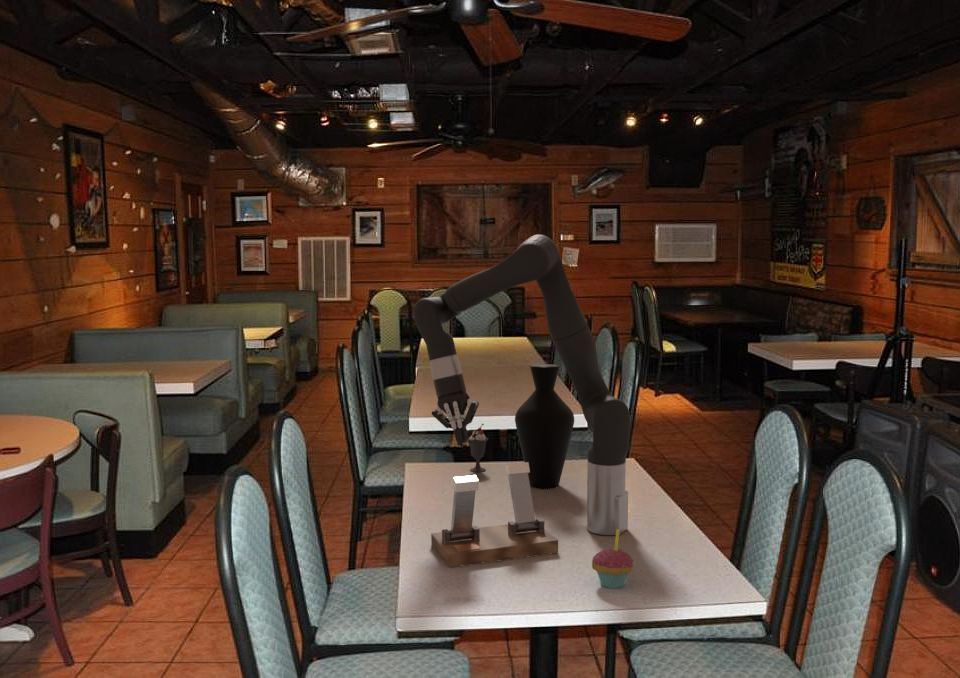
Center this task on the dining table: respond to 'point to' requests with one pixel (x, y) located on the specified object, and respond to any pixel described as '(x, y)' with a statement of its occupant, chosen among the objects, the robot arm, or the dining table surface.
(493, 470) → the dining table surface
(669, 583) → the dining table surface
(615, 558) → the cupcake
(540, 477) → the vase
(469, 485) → the outer lever
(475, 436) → the sundae
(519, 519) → the inner lever
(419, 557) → the dining table surface
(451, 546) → the switch base
